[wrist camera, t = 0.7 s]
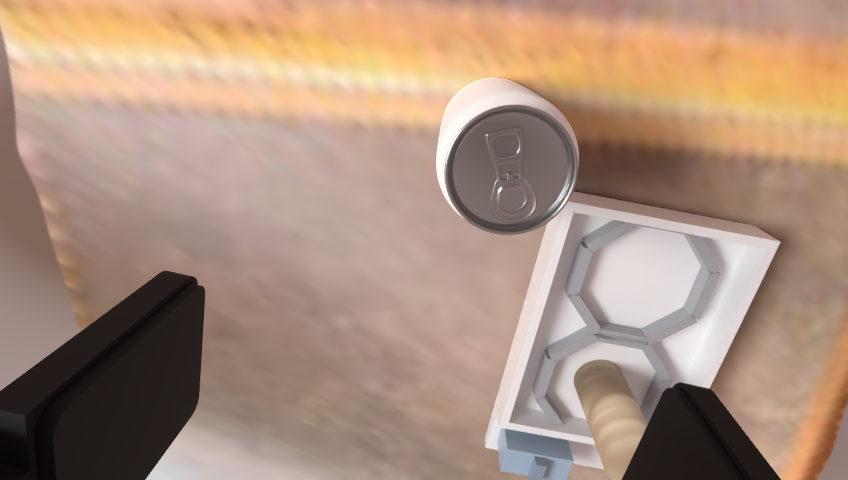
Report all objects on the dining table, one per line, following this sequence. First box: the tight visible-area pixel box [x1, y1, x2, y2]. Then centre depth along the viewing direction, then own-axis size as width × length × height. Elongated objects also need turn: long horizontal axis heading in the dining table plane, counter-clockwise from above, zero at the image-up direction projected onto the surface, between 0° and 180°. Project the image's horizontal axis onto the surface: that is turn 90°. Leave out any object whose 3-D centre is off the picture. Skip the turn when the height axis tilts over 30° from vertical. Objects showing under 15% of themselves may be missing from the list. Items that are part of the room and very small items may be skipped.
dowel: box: [574, 359, 648, 480], centre depth 34 cm, size 4×4×8 cm
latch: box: [497, 428, 574, 480], centre depth 38 cm, size 2×5×4 cm, turn 80°
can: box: [436, 78, 579, 235], centre depth 26 cm, size 6×6×12 cm
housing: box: [485, 191, 780, 469], centre depth 36 cm, size 22×14×3 cm, turn 170°
